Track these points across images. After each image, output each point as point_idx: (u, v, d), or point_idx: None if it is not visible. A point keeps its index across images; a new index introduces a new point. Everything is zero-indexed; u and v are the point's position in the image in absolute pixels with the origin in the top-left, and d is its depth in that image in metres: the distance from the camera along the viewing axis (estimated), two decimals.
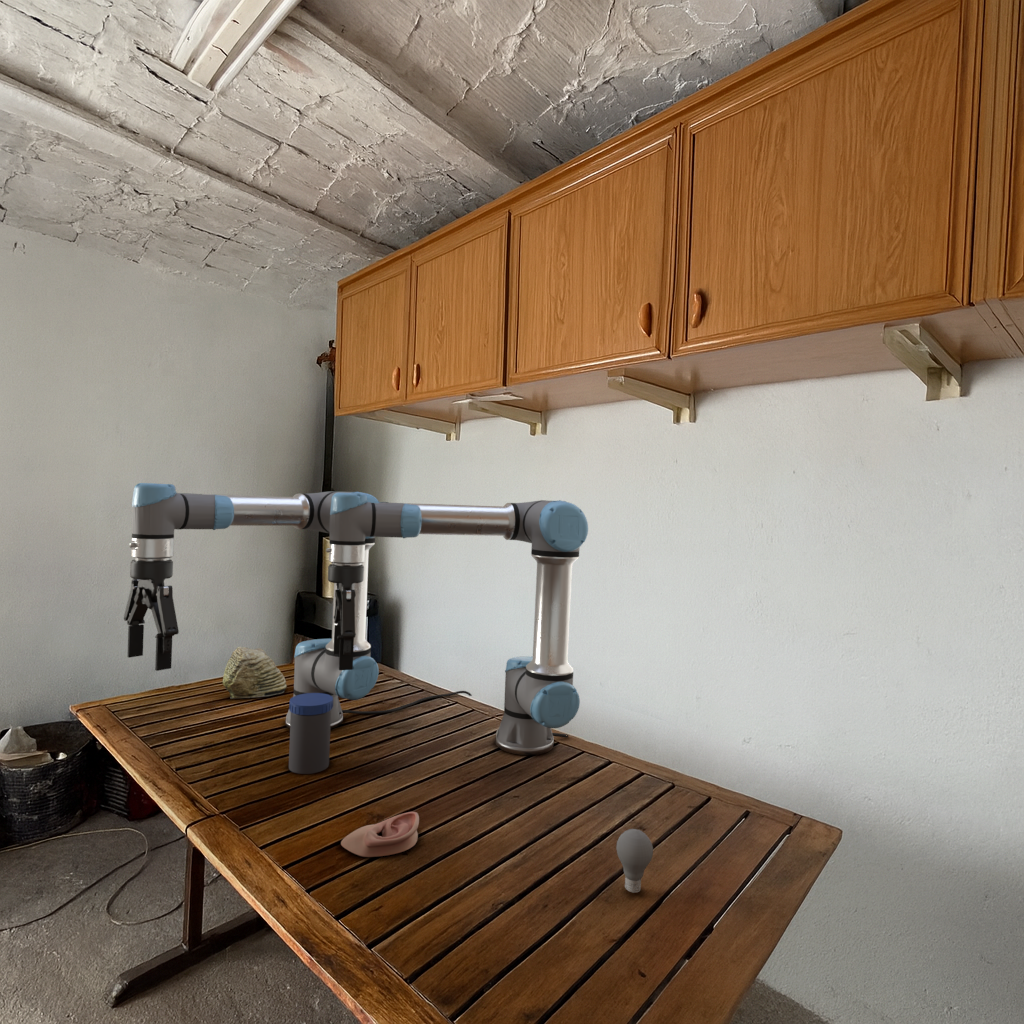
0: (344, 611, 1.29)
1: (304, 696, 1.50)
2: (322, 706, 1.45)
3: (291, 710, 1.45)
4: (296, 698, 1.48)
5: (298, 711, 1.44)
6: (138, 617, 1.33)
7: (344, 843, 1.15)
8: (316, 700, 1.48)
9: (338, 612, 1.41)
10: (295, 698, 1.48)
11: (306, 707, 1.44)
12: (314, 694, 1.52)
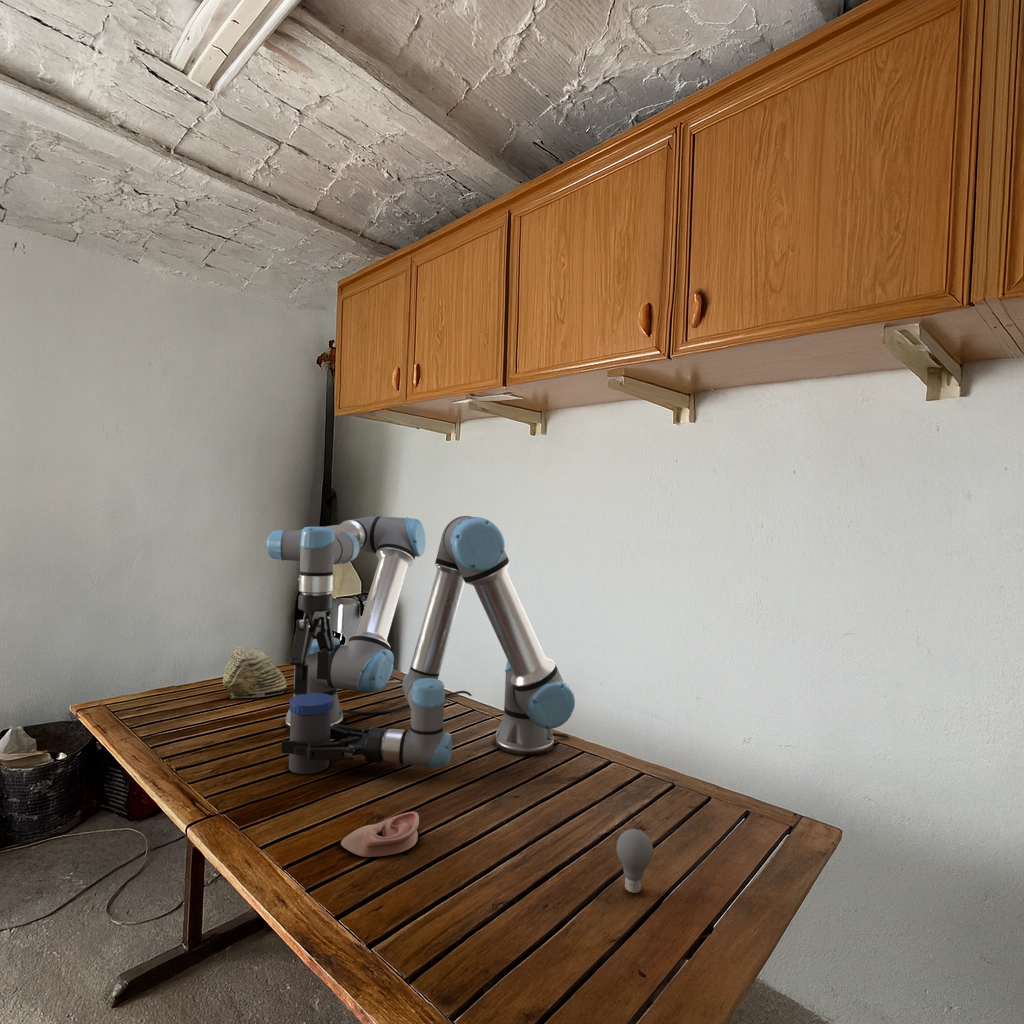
0: None
1: (304, 696, 1.50)
2: (322, 706, 1.45)
3: (291, 710, 1.45)
4: (296, 698, 1.48)
5: (298, 711, 1.44)
6: (323, 644, 1.53)
7: (344, 843, 1.15)
8: (316, 700, 1.48)
9: None
10: (295, 698, 1.48)
11: (306, 707, 1.44)
12: (314, 694, 1.52)
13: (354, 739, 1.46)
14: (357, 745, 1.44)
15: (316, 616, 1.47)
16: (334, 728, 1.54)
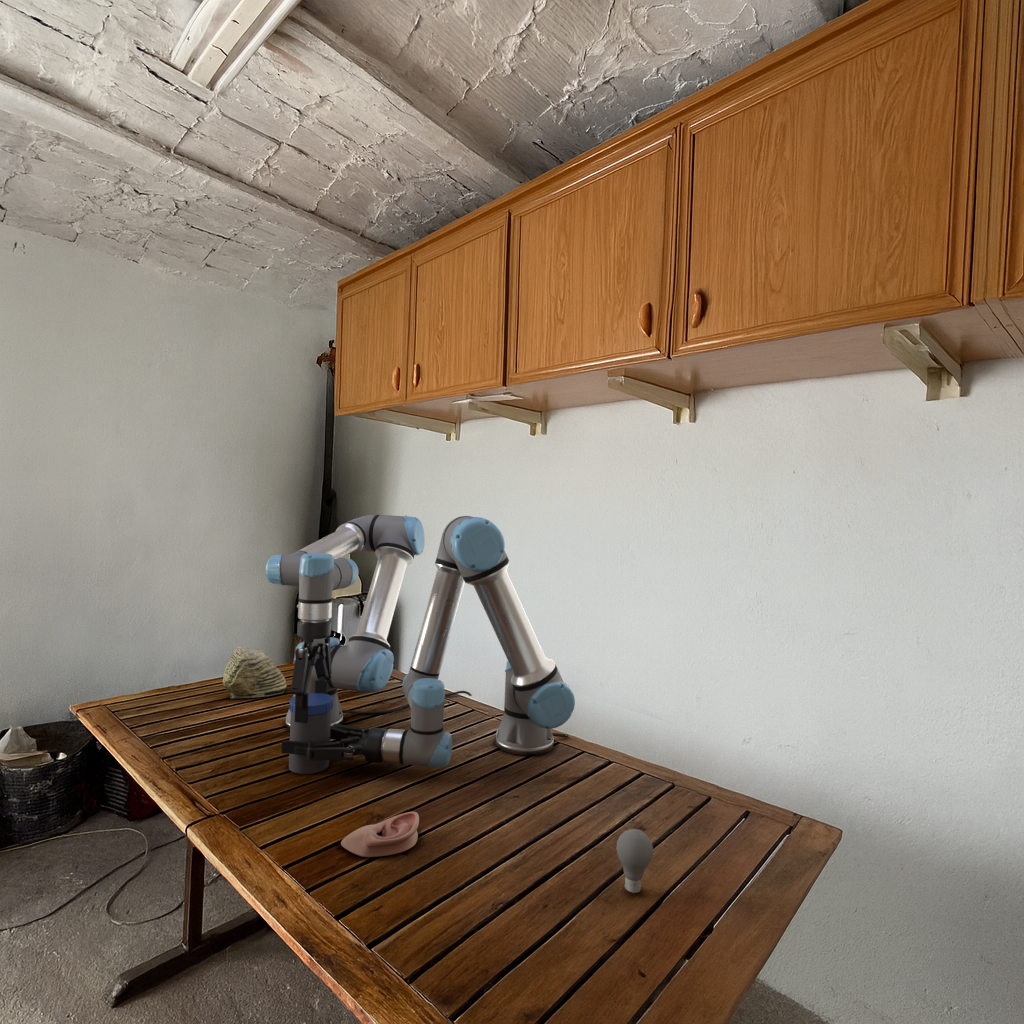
0: None
1: None
2: (322, 706, 1.45)
3: (291, 710, 1.45)
4: None
5: None
6: (320, 672, 1.53)
7: (344, 843, 1.15)
8: (316, 700, 1.48)
9: None
10: None
11: None
12: (314, 694, 1.52)
13: (354, 739, 1.46)
14: (357, 745, 1.44)
15: (315, 643, 1.47)
16: (334, 728, 1.54)
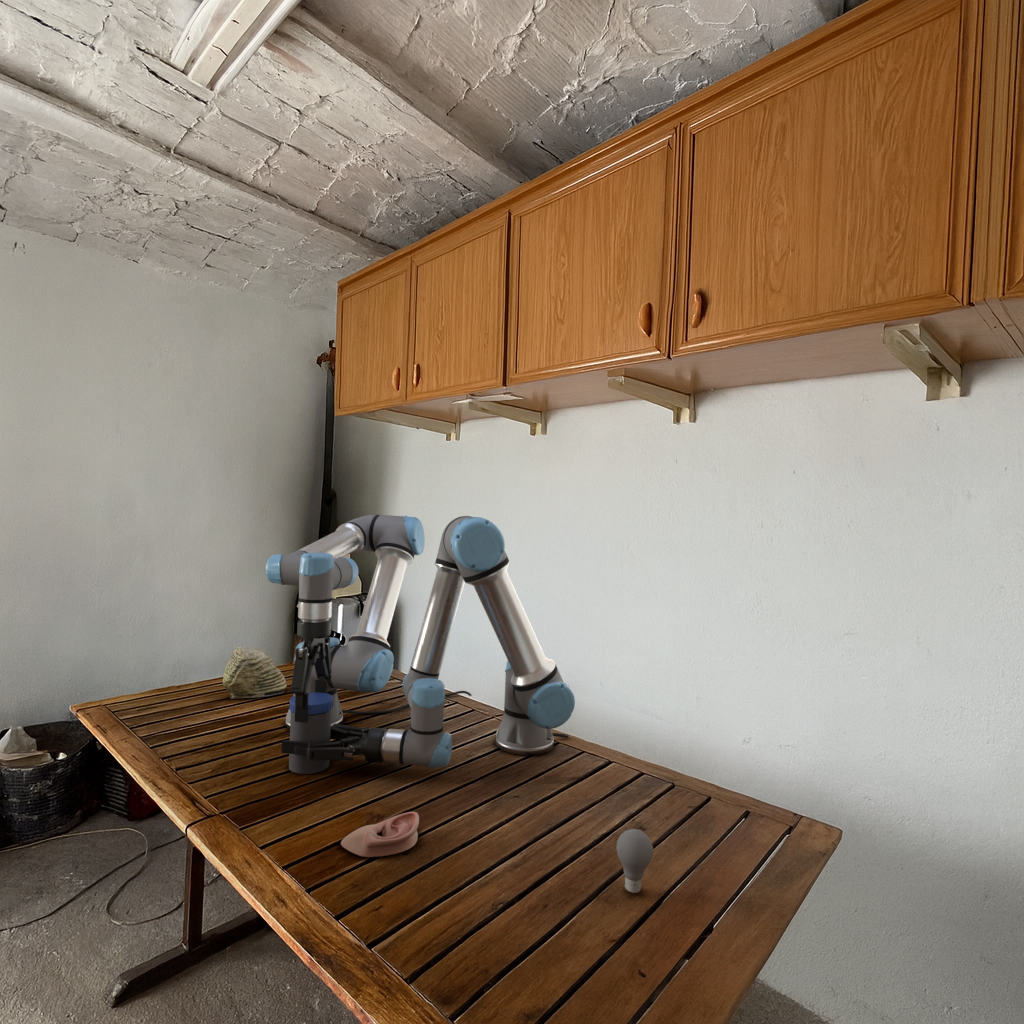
0: None
1: None
2: None
3: (322, 711, 1.45)
4: None
5: (330, 706, 1.47)
6: (320, 672, 1.53)
7: (344, 843, 1.15)
8: (316, 696, 1.50)
9: None
10: (308, 703, 1.45)
11: (332, 700, 1.49)
12: None
13: (354, 739, 1.46)
14: (357, 745, 1.44)
15: (315, 643, 1.47)
16: (334, 728, 1.54)
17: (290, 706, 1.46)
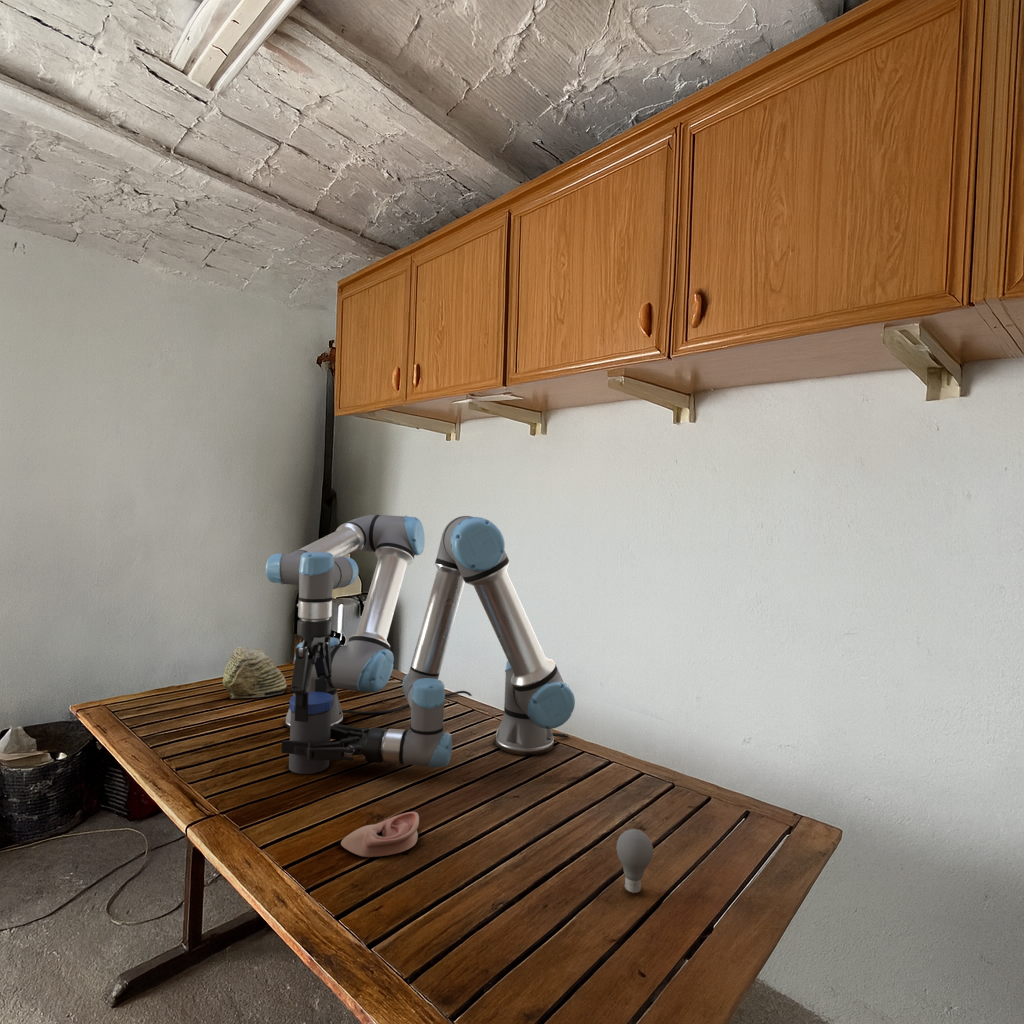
0: None
1: (320, 700, 1.47)
2: None
3: None
4: (327, 697, 1.49)
5: None
6: (321, 671, 1.53)
7: (344, 843, 1.15)
8: None
9: None
10: (328, 697, 1.49)
11: None
12: (311, 702, 1.45)
13: (354, 739, 1.46)
14: (357, 745, 1.44)
15: (316, 642, 1.47)
16: (334, 728, 1.54)
17: (319, 708, 1.45)
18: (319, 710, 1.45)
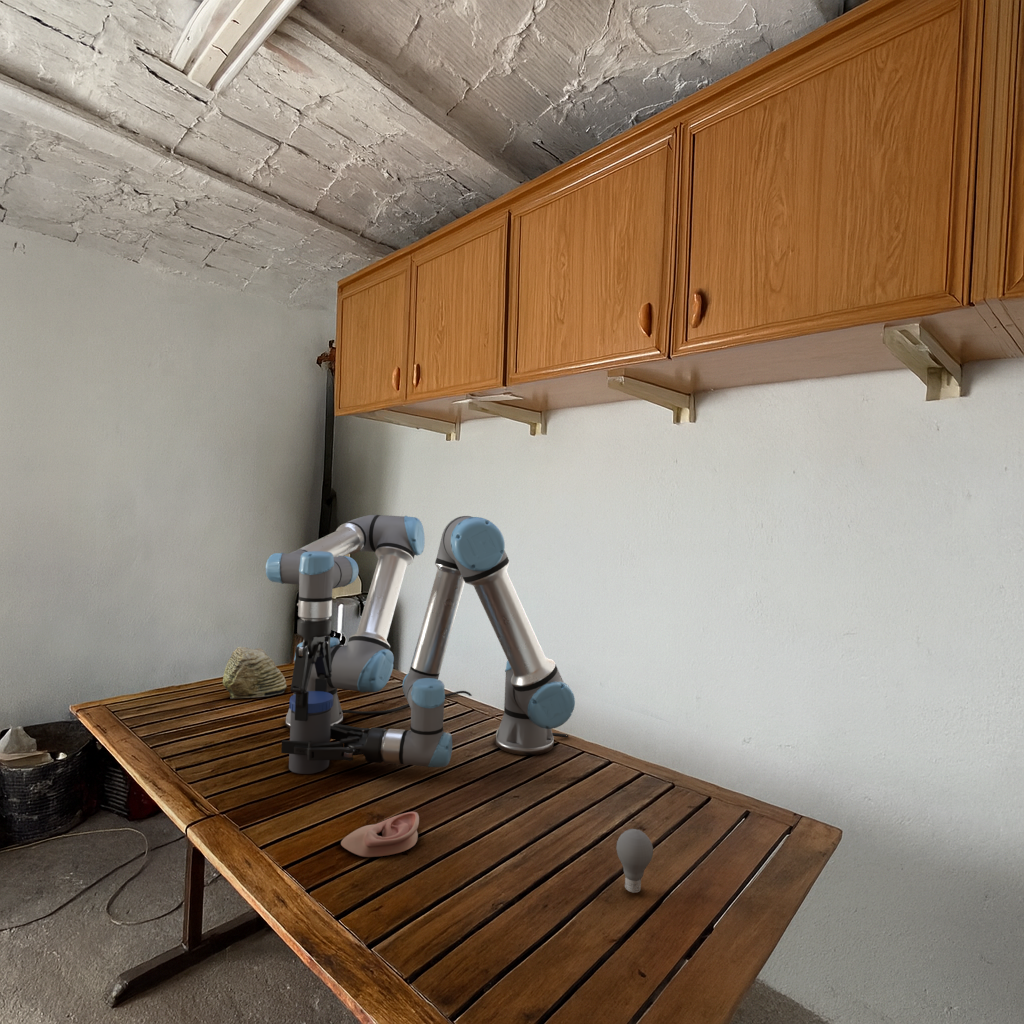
0: None
1: (320, 694, 1.51)
2: None
3: None
4: (313, 692, 1.52)
5: None
6: (321, 670, 1.53)
7: (344, 843, 1.15)
8: None
9: None
10: (312, 692, 1.52)
11: (290, 699, 1.47)
12: (327, 696, 1.50)
13: (354, 739, 1.46)
14: (357, 745, 1.44)
15: (316, 642, 1.47)
16: (334, 728, 1.54)
17: None
18: None
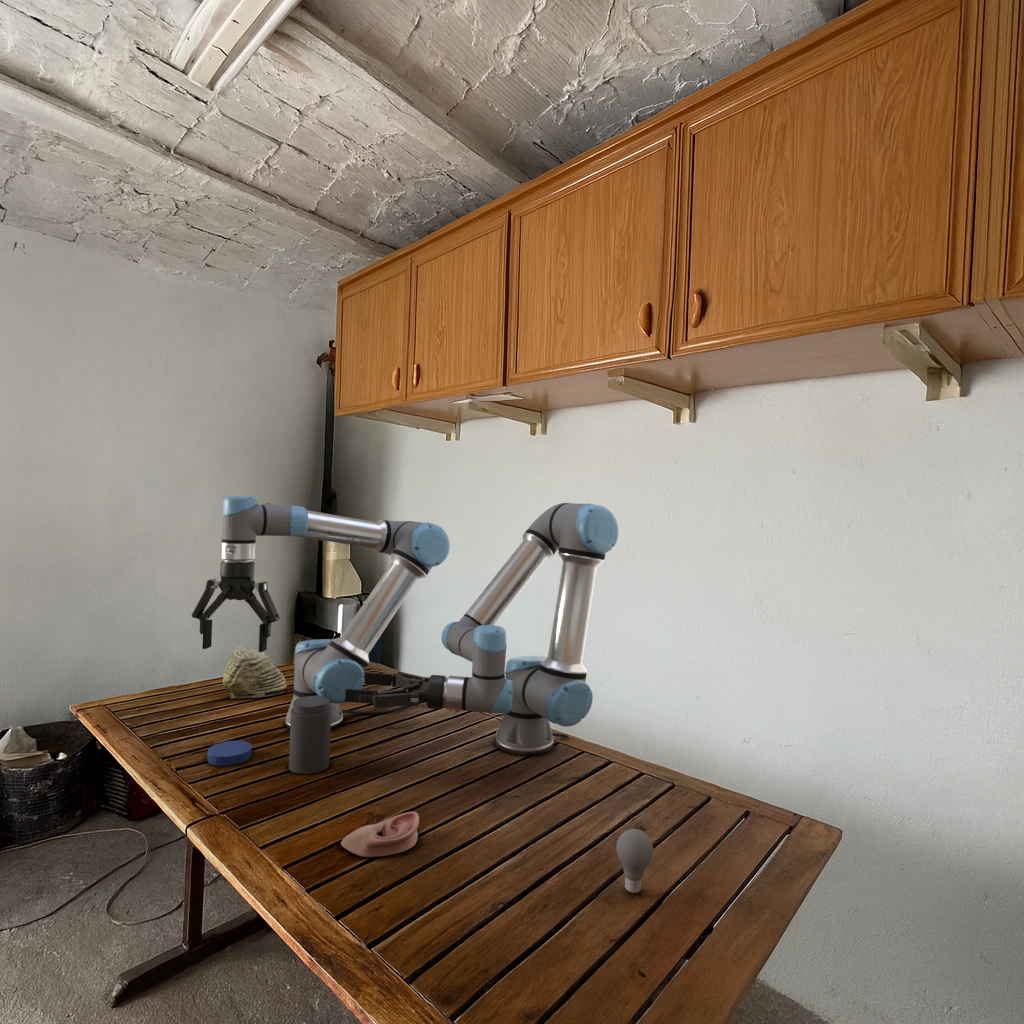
0: None
1: (220, 746, 1.52)
2: (244, 754, 1.49)
3: (211, 762, 1.47)
4: (213, 749, 1.50)
5: (220, 762, 1.47)
6: (211, 613, 1.51)
7: (344, 843, 1.15)
8: (235, 749, 1.51)
9: None
10: (212, 749, 1.50)
11: (228, 757, 1.47)
12: (230, 742, 1.55)
13: (416, 685, 1.44)
14: (420, 690, 1.43)
15: None
16: (398, 675, 1.54)
17: None
18: None
